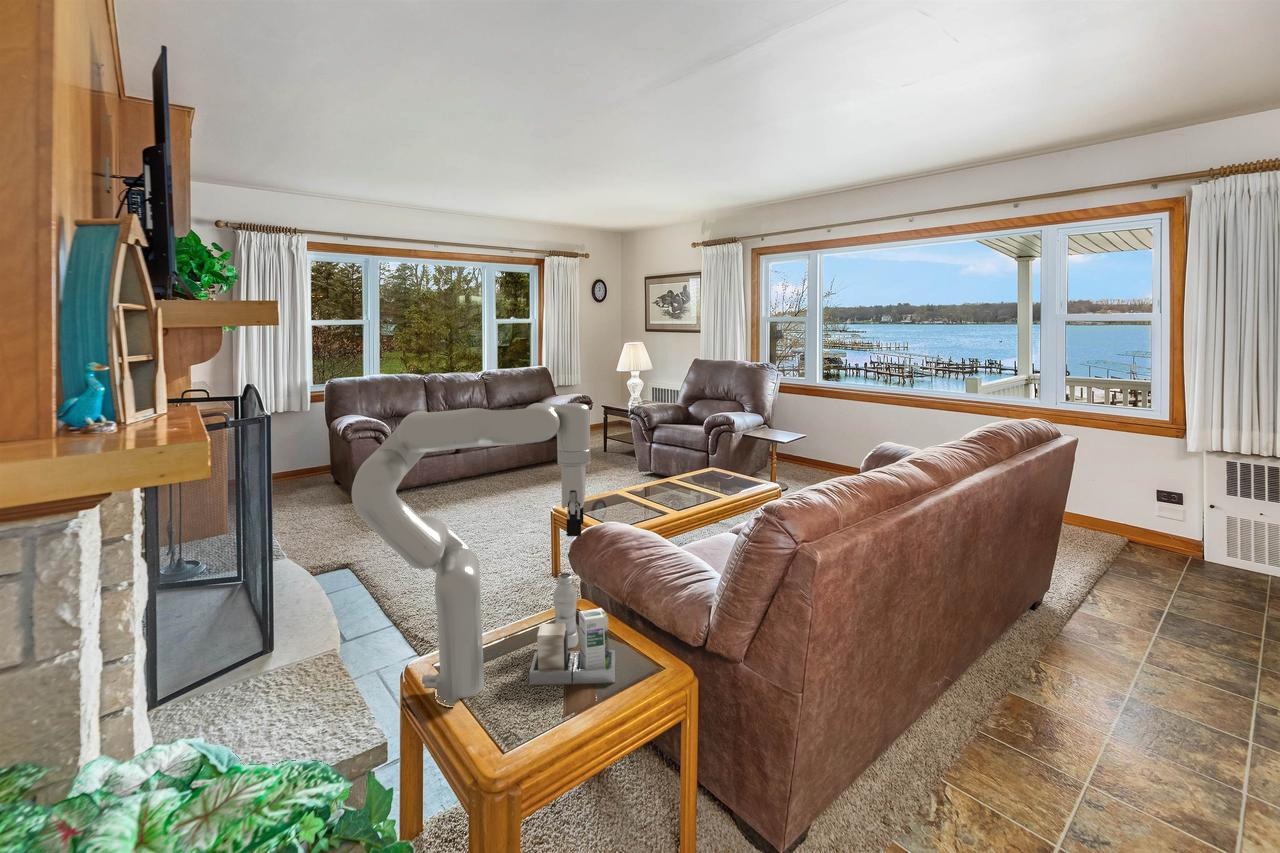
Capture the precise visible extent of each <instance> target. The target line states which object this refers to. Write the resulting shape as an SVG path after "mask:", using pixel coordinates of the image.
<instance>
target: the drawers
mask: <svg viewBox="0 0 1280 853" xmlns="http://www.w3.org/2000/svg"><path fill="white" fill-rule="evenodd" d="M531 661H532V662H531V665H530V669H529V672H528V673H529V674H528V675H529V683H528V686H553V685H554V686H555V685H556V686H558V685H559V686H560V685H561V686H562V685H589V684H591V685H592V684H593V685H594V684H595V685H596V684H597V685H598V684H616V683H617V679H616V678H617V676H616V675H617V674H616V673H617V666H616V665H617V663H616V662H617V661H616V650H615V649H609V669H581V667H580V650H576V651H574V650H568V662H567V668H566V670H538V651H534V653H533V658H532V660H531Z"/></svg>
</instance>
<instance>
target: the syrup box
mask: <svg viewBox="0 0 1280 853" xmlns="http://www.w3.org/2000/svg"><path fill="white" fill-rule="evenodd" d="M578 628H579V631H578V632H579V634H578V636H579V651H580V667H581V669H609V650H610V648H609V646H610V644H609V617H608V615H607V613H606V611H605V610H604V609H603V608H602V607H599V608H593V609H588V610H580V611H578Z"/></svg>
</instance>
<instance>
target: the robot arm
mask: <svg viewBox="0 0 1280 853" xmlns="http://www.w3.org/2000/svg"><path fill="white" fill-rule="evenodd" d="M590 411H591V410H590V408H589V406H588V405H587V404H585V403H577V402H570V403H569V402H567V403H562V404H555V403H544V402H534V403H532V404H529V405H528V406H526V407H525V408H518V409H507V410H506V409H505V410H499V409H498V410H494V409H487V408H486V409H485V408H481V407H469V408H461V409H453V410H452V409H450V410H442V411H441V410H440V411H431V412H430V411H429V412H428V411H425V410H416V411H412V412H411V413H408V414H407V415H406V416H405V417H404V418H403V419H402V420H401V421H400V423H399V424H398V426H397V427H396V428H395V430H394V431H393V432H391V434H390V435H389V436H388V437H387V438H386V439H385V440H384V442H382V443H381V444H380V445H379V447H377V448H376V450H375V451H374V452H373V453H371V454H370V456H369V457H367V459H366V460H364V461H363V462H362V464H361V465H360V467H359V468H358V470H357V472H356V475H355V476H354V480H353V482H352V486H351V500H352V506H353V507H354V510H355V512H356V514H357V515H358V516H359V517H360V519H361V521H363V522H364V523H365V524H366V525H367V526H368V527H369V528H370V529H371V530H372V531H374V532H375V533H376V534H377V535H378V536H379V537H380V538H381V539H382V540H383V541H384V542H385V543H386V544H387V545H388V546H389V547H390V548H391V549H392V550H393V551H395V552H396V553H397V555H399V556H400V557H401V558H402V559H403V560H404V561H405V562H406V563H407V564H408V565H409V566H411V567H412V568H415V569H418V570H429V569H431V570H432V571H433V572H434V573H435V574H436V575H435V582H434V596H435V606H436V620H437V624H436V625H437V637H438V638H437V639H438V640H437V641H438V656H439V672H438V673H436V674H423V675H422V678H421V684H422V685H423V688H424V689H426V690H427V689H434V690H435V689H437V695H438V696H437V697H436V696H435V697H436V700H438V701H439V702H440V703H443V704H445V705H449V706H454V707H455V705H456V703H457V701H458V700H461V699H466V698H470V697H473V696H475V695H477V694H478V693H480V692H481V691H483V688H485V677H484V676H485V672H484V671H485V670H484V669H485V668H484V650H483V649H484V647H483V645H484V644H483V627H482V626H483V625H482V601H481V600H482V599H481V597H482V592H481V587H482V586H481V585H482V584H481V570H480V561H479V558H478V556H477V555H476V554H475V552H474V551H473V550H472V549H471V548H470V547H469V546H468V545H467V544H466V542H464V541H463V540H462V539H461V538H460V537H459V536H458V534H456V533H455V532H454V531H452V530H451V528H449V527H448V526H447V525H446V524H445V523H444V522H443V521H441V520H440V519H439V518H436V517H433V516H429V515H428V516H426V515H425V516H420V514H418V513H417V512H415V510H414V509H413V507H411V506H410V505H408V503H406V502H405V501H403V500H402V499H401V498H400V497H399V496H398V495H397V489H398V487H399V486H400V484H401V483H402V481H403V479H404V477H405V476H406V475H407V474H408V472H409V471H411V469H412V468H413V467H414V466H415V465H416V463H418V462H419V460H420V459H421V458H423V457H424V455H425V454H427V453H434V452H440V451H441V452H442V451H448V450H449V451H450V450H459V449H467V448H477V447H478V448H479V447H494V446H495V447H496V446H497V447H498V446H511V445H513V446H514V445H523V444H530V443H540V442H545V441H548V440H550V439H552V438H553V437H554V436H556V440H557V441H556V442H557V447H556V449H557V450H556V451H557V465H559V466H562V467H561V508H562V509H563V510H565V509H567V513H566V517H567V518H566V536H567V537H581V536H582V525H583V524H584V505H585V499H586V498H585V497H586V483H587V482H586V478H587V477H586V475H587V474H586V466H588V465H590V464H591V416H590V415H591V412H590ZM439 696H440V697H439ZM444 700H446V701H445V702H444Z"/></svg>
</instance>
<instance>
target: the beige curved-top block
mask: <svg viewBox="0 0 1280 853" xmlns="http://www.w3.org/2000/svg"><path fill="white" fill-rule="evenodd" d="M536 638H537V641H536V642H537V652H538V670H566V668H567V662H568V651H569V649H568V630H566V625H565V623H564V624H556V623H540V624H539V628H538V631H537V635H536Z"/></svg>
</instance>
